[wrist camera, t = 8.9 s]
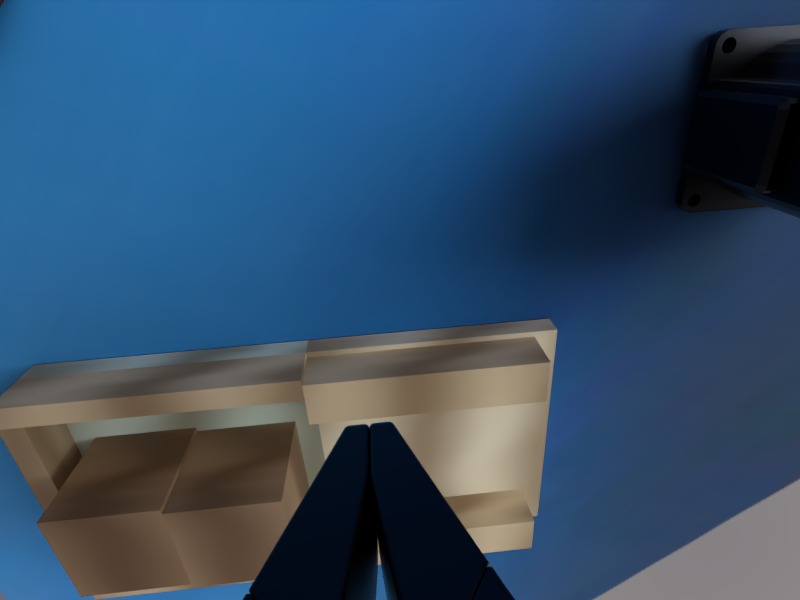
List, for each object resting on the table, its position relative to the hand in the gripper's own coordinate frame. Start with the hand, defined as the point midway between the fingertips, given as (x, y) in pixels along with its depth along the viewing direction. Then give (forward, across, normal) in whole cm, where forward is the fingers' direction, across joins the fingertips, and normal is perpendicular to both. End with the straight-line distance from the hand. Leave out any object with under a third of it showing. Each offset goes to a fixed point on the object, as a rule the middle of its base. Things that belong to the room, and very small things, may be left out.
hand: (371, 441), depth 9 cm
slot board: (+12, +3, +11) cm, 17 cm away
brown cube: (+11, +6, +11) cm, 17 cm away
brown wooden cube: (+11, +11, +11) cm, 19 cm away
